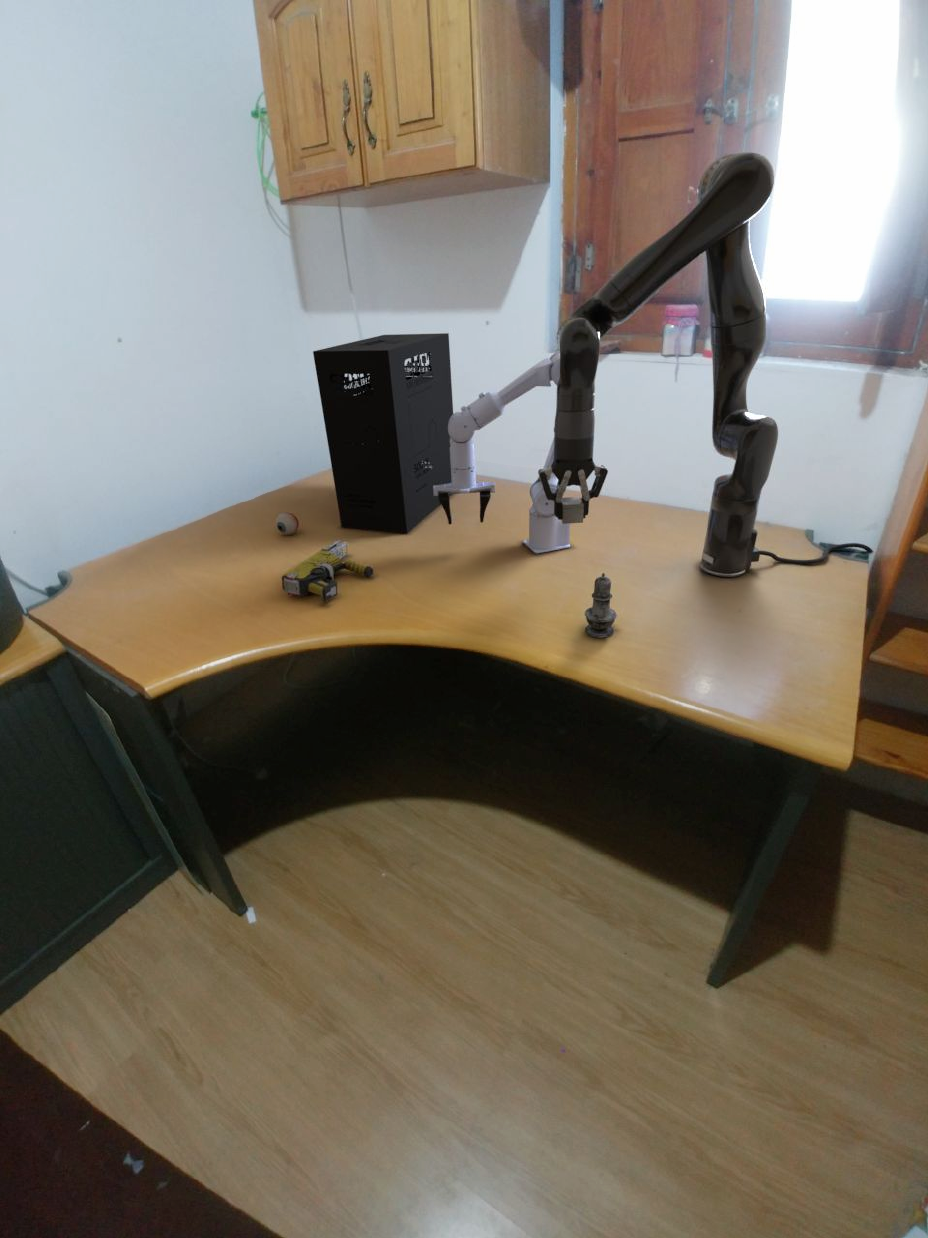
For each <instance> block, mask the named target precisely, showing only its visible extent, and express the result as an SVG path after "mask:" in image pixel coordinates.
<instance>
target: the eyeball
mask: <svg viewBox="0 0 928 1238" xmlns="http://www.w3.org/2000/svg"><path fill="white" fill-rule="evenodd" d="M299 525H300V522H299V519H298V517H297V516H296V515H295V514H294V513H292V512H287V511H286V512H282V513H280V514H279V515H278V516H277V517H276V520H275V527H276V529H277V530H278V531H279V532H280V533H281V534H282V535H285V536H286V535H287V536H289V535H293V534H295V533H296V532H297V531H298V529H299Z"/></svg>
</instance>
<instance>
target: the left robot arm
mask: <svg viewBox="0 0 928 1238" xmlns="http://www.w3.org/2000/svg"><path fill="white" fill-rule="evenodd" d="M559 378H560V350H559V351H556V352H554V353H553V354H552V355H551V356H550V357H545V358H543V359H542V360H541V361H539V362H538V363H536V364H534V365H533V366H532V367H530V368H529V369H527V370H526V371H525V372H523V373H522V374H521V375H519V376H518V377H516V378H515V379H514V380H513V381H511V382H510V383H509V384H507V385H505V386H504V387H503V388H502V389H500V390H499V391H498V392H497V391H494V392H493V391H491V390H488V391H487V392H486V393H485V392H484V391H481V393H479V394H478V398H477V399H475V400H474V401H473V402H471V403H469V404H468V405H463V406H461V407H460V411H456V412H453V415H452V416H451V417H450V419H449V423H448V433H449V435H450V440H449V441H450V464H451V479H452V483H449V484H443V485H435V486H433V491H434V496H439V501H440V503H441V504H440V505H441V507H442V508H443V510H444V512H445V515H446V519H447V522H448V525H452V523H453V522H452V513H451V512H452V511H451V503H450V496H449V494H452V495H457V494H459V495H460V494H475V493H479V522H480V523H481V524H482V523H484V519H485V514H486V510H487V508H488V504H489V502H490V501H491V498H492V496H491V495H492V494H494V493H496V482H494V481H477V477H476V476H477V475H476V473H477V472H476V454H475V453H476V452H475V450H476V449H475V445H474V434H475V431H480V430H481V429H483V428H485V427H487V425H489V424H491V423H492V422H494V421H495V420H496V419H498V418H500V417H501V416H502V415H503V414H504V411H505V407H506V406H507V405H508V404H510V403H512V402H513V401H515V400H517V399H519V398H520V397H521V396H523V395H525V394H526V393H529V392H530V391H531V390H533V389H534V388H536V387H545V388H546V387H547V388H549V387H552V383H551V382H553V384H554V385H556V386H557V384H558V380H559ZM553 461H554V438H553V439H552V442H551V445H550V448H549V450H548V454H547V456H546V459H545V463H544V465H543V468H542V469H543V470H545V469H547V468H550V467H551V465H552V463H553ZM557 482H558V479H557V477H556V476H555V475H554V473H552V474H551V478H550V480H548V483H549V486H550V489H551V492H553V493H555V491H556V486H557ZM529 496H530V499H531V502H532V505H531V506H530V507H529V509H528V511H529V512H528V513H529V514H528V539H524V540H523V541H522V543H523V544H524V545H525V546H526V547H527V548H528V549H530V550H531V551H532V552H533V553H534V554H537V555H538V554H542V553H548V552H552V551H558V550H564V549H568V548H571V544H570V535H571V534H570V533H571V532H570V531H571V523H569V524H562V521H561V520H558V518H557V517H556V516H555V514H554V501H553V500H548V499H547V497H546V495H545V492H544V489H543V486H542V483H541V480H540V477H539V476H538V477H537V479H536V480H535V481H534V482H533V483H532V484H531V486H530V489H529Z"/></svg>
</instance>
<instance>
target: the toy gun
mask: <svg viewBox="0 0 928 1238" xmlns="http://www.w3.org/2000/svg"><path fill="white" fill-rule="evenodd" d="M345 548H348V543H347V542H346V541H343V540H342V541H341V540H339V539H338V540H335V541H334V542H333V543H331V544H330V545H327V546H326V547H325V548H321V549H320V550H318V551H317V552H316V553H314V554H312V555H311V556H310V557H307V559H305V560H304V561H302V562H300V563H299V564H298V565H296V566H294V567H293V568H291V569H290V570H288V571H287V572H285V573H284V574H282V576H281V585H282V586H281V587H282V590H283V591H284V592H285V593H287V596H292V597H295V596H302V597H303V596H307V595H310V594H315V595H318V596H320V597H322V601H323V602H325V603H327V602H328V601H330V600H332V599H333V598H335V597H337V596H338V594H339V593H338V582H337V581H336V580H334V578H335V577H334V575H336V574H337V573H340V572H342V571H343V570H346V571H349V572H353V573H355V574H358V575H361V576H364V577H366V578H370V577H372V576H373V575H374V569H373V567H372V566H370V565H365V564H361V563H359V562H357V561H352V560H349V559H347V560H345V561H344V562H342V560H343V558H344V557H347V556H348V554H349V553H348V549H346V552H344V549H345Z"/></svg>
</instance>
